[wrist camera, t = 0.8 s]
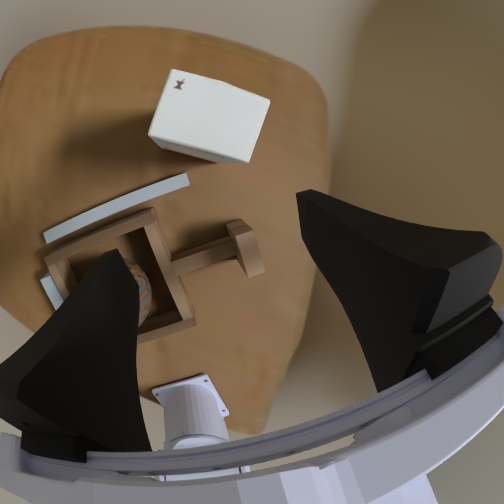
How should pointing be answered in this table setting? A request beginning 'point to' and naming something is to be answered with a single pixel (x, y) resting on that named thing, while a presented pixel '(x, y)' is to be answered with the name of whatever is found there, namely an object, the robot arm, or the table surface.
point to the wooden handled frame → (162, 264)
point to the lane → (103, 212)
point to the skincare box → (207, 118)
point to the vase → (141, 289)
